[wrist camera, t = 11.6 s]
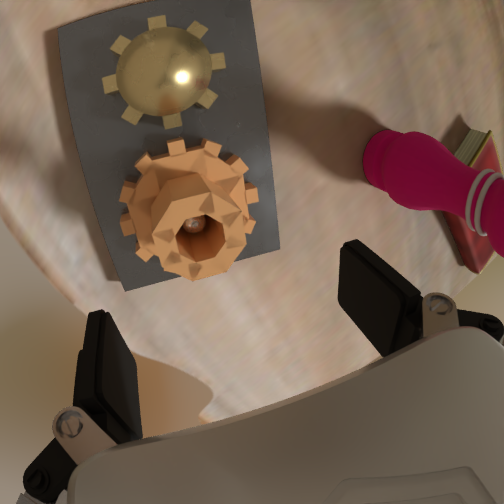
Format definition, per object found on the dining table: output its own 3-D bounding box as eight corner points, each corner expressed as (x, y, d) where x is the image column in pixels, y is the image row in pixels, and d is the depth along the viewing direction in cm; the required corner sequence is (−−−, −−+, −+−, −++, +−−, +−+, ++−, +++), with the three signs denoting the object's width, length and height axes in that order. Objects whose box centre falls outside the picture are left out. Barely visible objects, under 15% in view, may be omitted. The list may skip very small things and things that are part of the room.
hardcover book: (462, 265, 43) (479, 277, 40) (425, 186, 32) (451, 198, 29) (496, 214, 41) (513, 223, 38) (468, 124, 30) (493, 131, 27)
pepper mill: (365, 203, 30) (528, 314, 13) (350, 137, 26) (556, 220, 9) (412, 178, 30) (564, 261, 14) (403, 117, 27) (583, 177, 10)
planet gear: (105, 157, 19) (88, 178, 14) (242, 125, 21) (275, 134, 16) (142, 276, 24) (143, 327, 19) (258, 245, 26) (289, 285, 21)
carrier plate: (62, 32, 15) (38, 14, 10) (243, -4, 17) (269, -29, 13) (125, 282, 26) (123, 324, 21) (274, 241, 29) (301, 273, 24)
